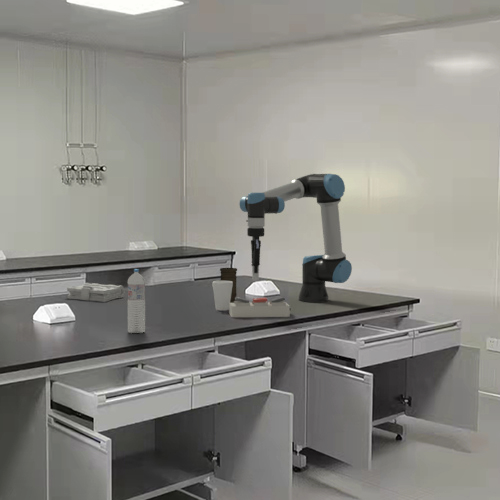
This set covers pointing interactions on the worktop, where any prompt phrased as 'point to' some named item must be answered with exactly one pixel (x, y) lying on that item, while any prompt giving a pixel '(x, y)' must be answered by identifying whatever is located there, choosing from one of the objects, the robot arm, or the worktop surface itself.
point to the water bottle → (136, 303)
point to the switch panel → (259, 309)
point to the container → (230, 279)
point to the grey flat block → (96, 292)
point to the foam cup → (222, 294)
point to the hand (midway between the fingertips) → (255, 280)
